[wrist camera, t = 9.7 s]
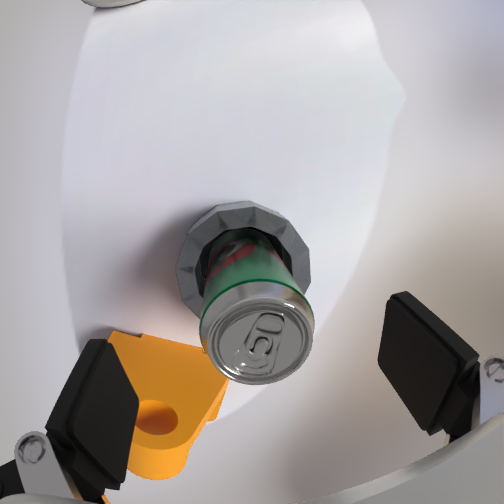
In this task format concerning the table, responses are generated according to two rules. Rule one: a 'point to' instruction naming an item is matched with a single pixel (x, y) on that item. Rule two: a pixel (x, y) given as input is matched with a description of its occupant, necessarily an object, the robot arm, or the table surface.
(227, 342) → the soda can
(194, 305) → the rosette ring
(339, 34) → the table surface
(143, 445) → the bracket
